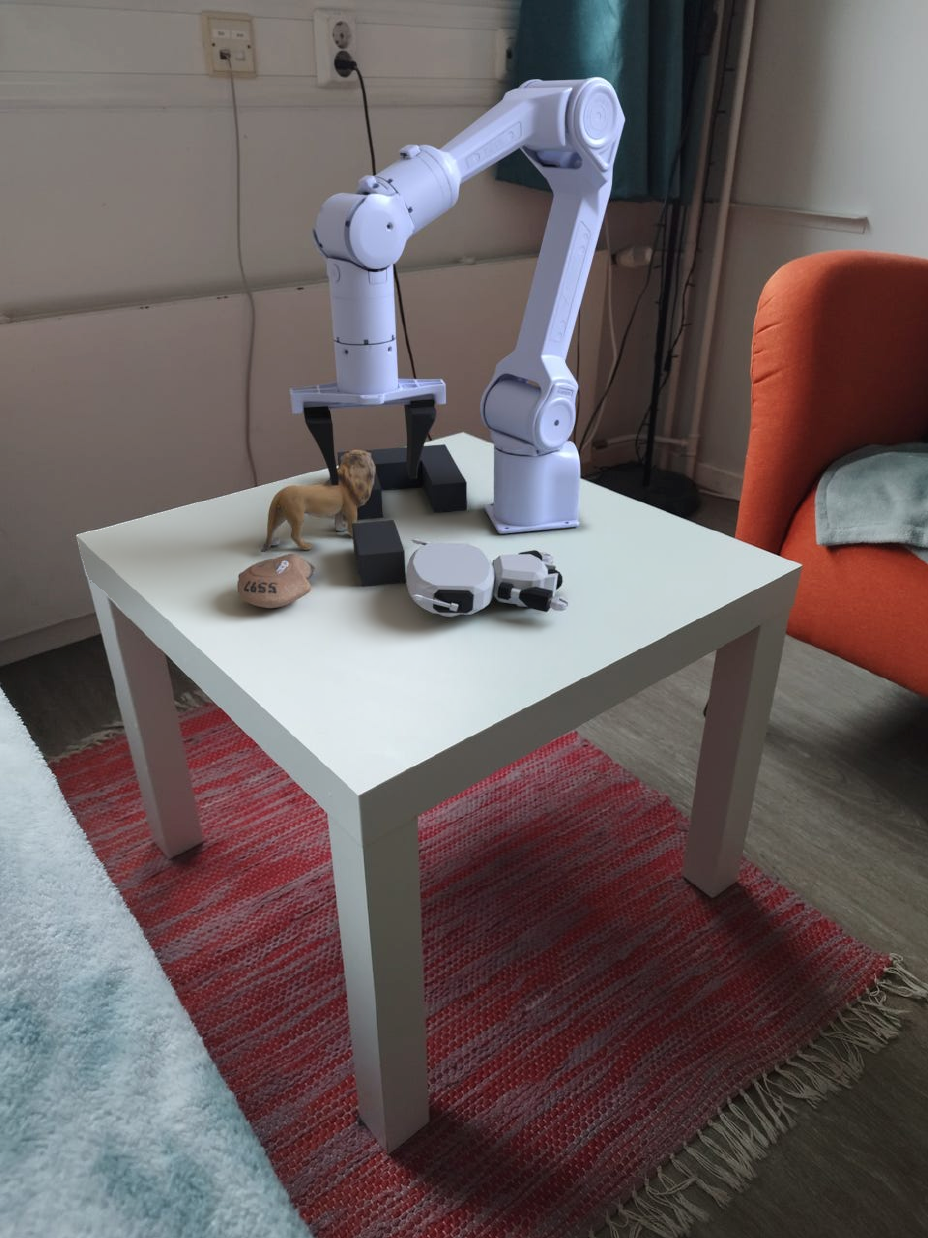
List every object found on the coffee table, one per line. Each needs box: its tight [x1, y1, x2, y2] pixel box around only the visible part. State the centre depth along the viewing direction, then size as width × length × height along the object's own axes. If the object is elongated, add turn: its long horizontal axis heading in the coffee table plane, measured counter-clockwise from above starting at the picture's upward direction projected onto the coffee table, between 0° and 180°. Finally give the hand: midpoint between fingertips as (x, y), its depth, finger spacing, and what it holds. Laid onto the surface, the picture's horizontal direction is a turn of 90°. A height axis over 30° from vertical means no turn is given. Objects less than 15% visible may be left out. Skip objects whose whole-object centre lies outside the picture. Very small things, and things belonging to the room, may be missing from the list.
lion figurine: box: [260, 448, 376, 553], centre depth 98 cm, size 15×5×9 cm, turn 129°
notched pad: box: [337, 443, 468, 520], centre depth 111 cm, size 14×14×4 cm
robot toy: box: [405, 538, 570, 618], centre depth 86 cm, size 12×4×15 cm
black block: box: [352, 519, 407, 587], centre depth 93 cm, size 4×8×4 cm, turn 11°
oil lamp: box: [236, 553, 316, 609], centre depth 88 cm, size 9×4×8 cm
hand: (373, 478), depth 89 cm, fingers open, 7 cm apart
